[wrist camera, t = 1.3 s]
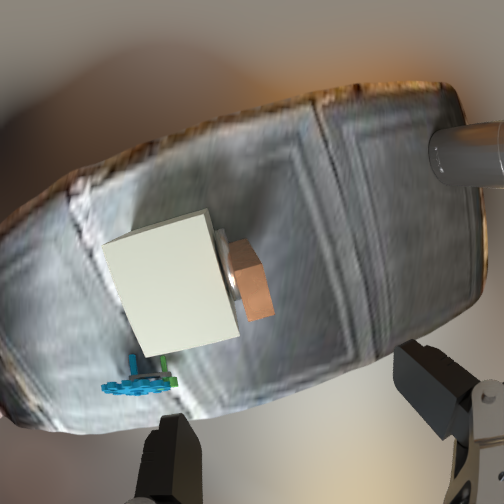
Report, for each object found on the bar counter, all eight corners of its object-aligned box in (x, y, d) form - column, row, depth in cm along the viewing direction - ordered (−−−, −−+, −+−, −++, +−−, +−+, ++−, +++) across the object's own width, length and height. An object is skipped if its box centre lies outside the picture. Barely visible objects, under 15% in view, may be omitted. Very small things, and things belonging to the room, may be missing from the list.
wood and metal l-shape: (240, 219, 33) (255, 238, 19) (256, 280, 34) (279, 334, 21) (163, 241, 32) (128, 274, 19) (182, 300, 34) (164, 363, 20)
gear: (116, 400, 35) (91, 393, 27) (112, 365, 38) (87, 348, 30) (183, 394, 38) (174, 386, 30) (176, 358, 41) (166, 340, 33)
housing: (207, 208, 33) (203, 214, 24) (234, 300, 36) (239, 336, 26) (130, 231, 32) (101, 245, 23) (161, 318, 35) (145, 357, 26)
